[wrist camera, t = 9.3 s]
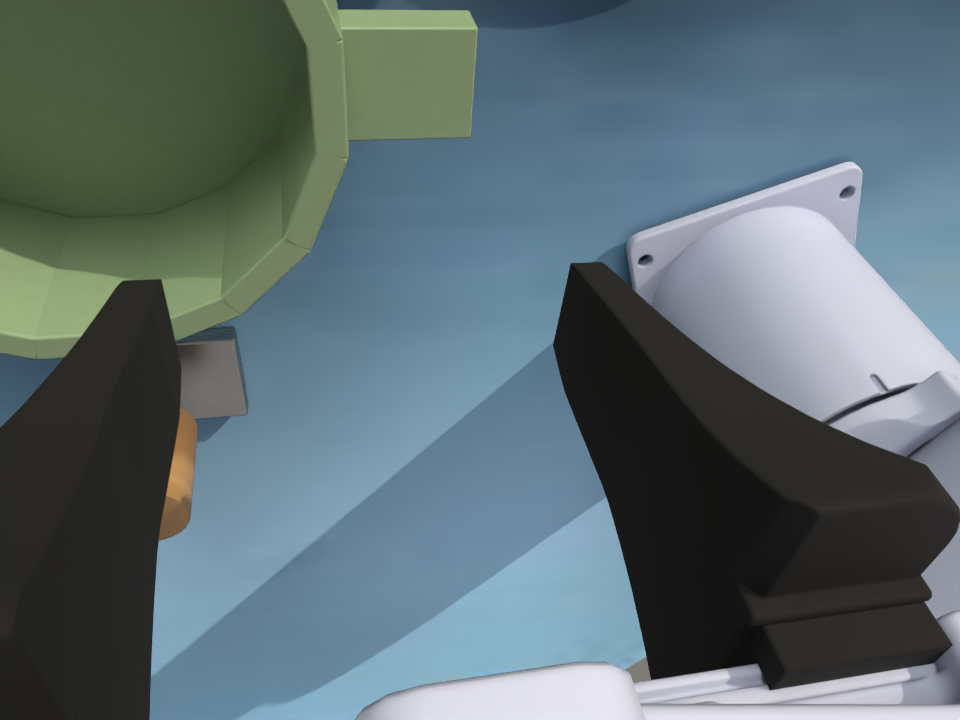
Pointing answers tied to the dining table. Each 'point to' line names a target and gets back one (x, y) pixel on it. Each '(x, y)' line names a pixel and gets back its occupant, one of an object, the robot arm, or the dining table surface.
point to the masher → (201, 411)
